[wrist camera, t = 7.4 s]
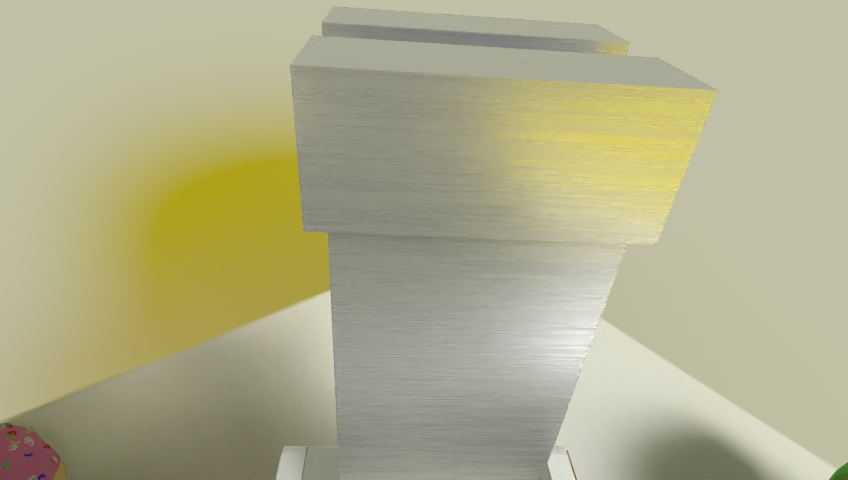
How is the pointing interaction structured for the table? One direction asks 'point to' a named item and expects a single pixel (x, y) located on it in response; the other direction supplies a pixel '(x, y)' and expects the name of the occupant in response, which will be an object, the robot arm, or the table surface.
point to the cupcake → (27, 456)
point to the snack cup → (841, 473)
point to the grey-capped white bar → (476, 222)
